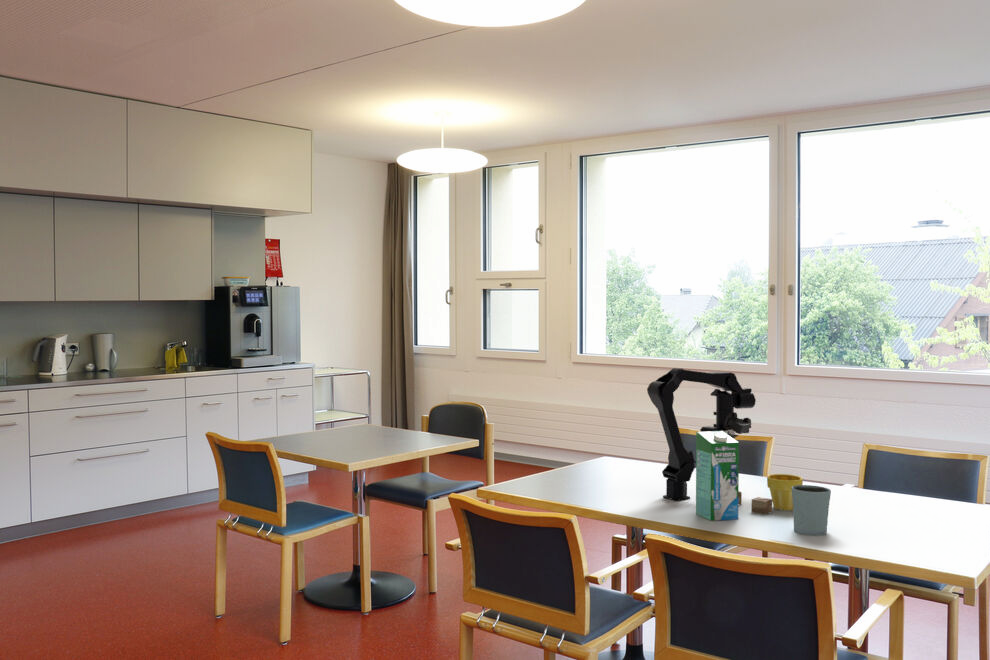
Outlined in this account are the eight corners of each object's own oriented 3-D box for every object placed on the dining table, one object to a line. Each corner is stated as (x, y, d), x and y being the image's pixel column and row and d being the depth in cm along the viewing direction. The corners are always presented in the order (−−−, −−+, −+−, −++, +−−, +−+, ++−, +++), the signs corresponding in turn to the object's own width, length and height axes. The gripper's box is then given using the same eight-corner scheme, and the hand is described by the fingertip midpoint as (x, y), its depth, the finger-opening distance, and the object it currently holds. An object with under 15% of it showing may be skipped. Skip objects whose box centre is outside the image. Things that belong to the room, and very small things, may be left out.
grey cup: (784, 531, 226) (785, 488, 225) (801, 524, 233) (801, 483, 232) (820, 538, 218) (821, 493, 218) (836, 531, 225) (837, 488, 225)
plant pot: (778, 512, 247) (778, 480, 247) (760, 505, 257) (761, 474, 257) (809, 511, 249) (809, 479, 249) (790, 503, 259) (790, 473, 259)
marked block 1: (728, 505, 257) (728, 492, 257) (721, 502, 261) (721, 489, 261) (741, 504, 258) (741, 491, 258) (733, 501, 263) (733, 488, 263)
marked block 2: (765, 514, 245) (765, 501, 245) (751, 512, 248) (751, 498, 248) (772, 512, 248) (772, 498, 248) (758, 509, 251) (758, 496, 251)
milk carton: (711, 521, 237) (711, 435, 236) (695, 513, 245) (696, 431, 245) (738, 519, 239) (739, 434, 239) (722, 512, 248) (722, 430, 247)
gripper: (726, 413, 261) (726, 461, 261) (762, 409, 272) (762, 456, 272) (699, 410, 270) (698, 457, 270) (735, 406, 281) (735, 451, 281)
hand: (724, 455), depth 273 cm, fingers closed
